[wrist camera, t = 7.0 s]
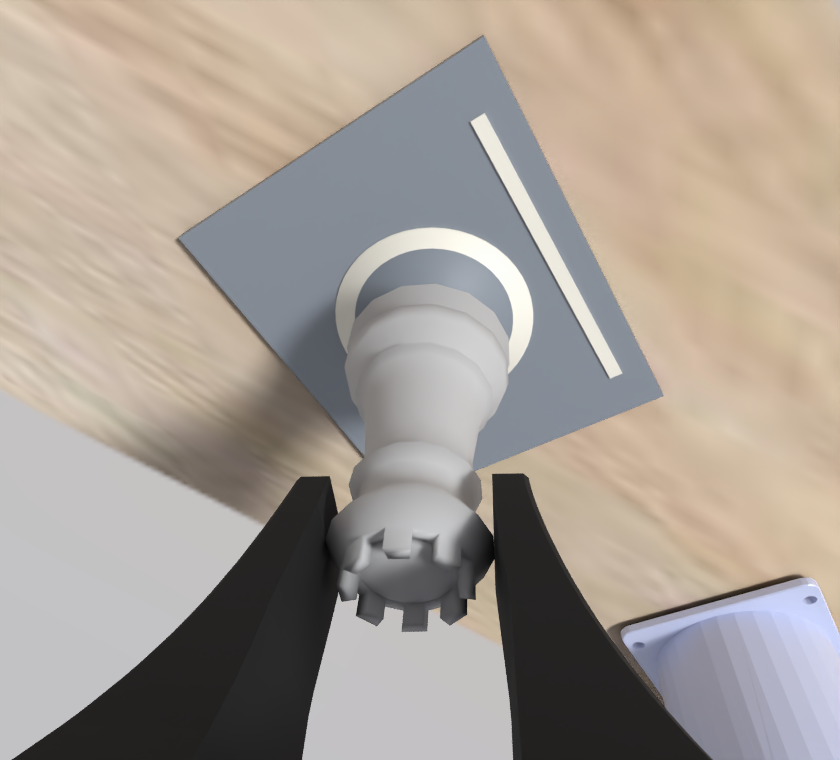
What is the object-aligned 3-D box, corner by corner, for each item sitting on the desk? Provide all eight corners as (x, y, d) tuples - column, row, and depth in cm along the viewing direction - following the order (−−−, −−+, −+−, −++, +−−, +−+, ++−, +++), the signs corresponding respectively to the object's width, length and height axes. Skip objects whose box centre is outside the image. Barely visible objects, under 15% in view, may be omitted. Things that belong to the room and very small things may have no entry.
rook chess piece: (348, 399, 19) (288, 647, 13) (350, 265, 17) (277, 494, 10) (496, 414, 19) (508, 669, 13) (522, 283, 17) (554, 523, 10)
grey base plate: (661, 390, 21) (664, 397, 21) (402, 494, 24) (401, 501, 24) (483, 35, 15) (484, 36, 15) (182, 234, 19) (177, 239, 19)
